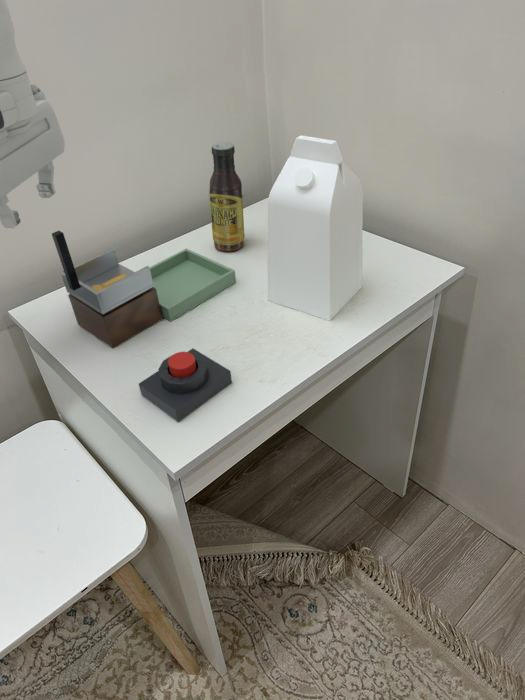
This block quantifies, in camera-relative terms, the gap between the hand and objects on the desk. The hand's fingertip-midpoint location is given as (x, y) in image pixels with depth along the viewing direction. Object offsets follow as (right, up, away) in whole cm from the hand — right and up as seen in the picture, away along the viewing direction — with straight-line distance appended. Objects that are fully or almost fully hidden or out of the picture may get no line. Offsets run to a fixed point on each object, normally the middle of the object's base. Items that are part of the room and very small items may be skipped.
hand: (31, 210), depth 74 cm
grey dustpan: (+7, -10, +12) cm, 17 cm away
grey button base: (+21, -24, +3) cm, 32 cm away
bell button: (+21, -22, +1) cm, 30 cm away
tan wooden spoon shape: (+7, -9, +12) cm, 17 cm away
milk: (+40, -9, +20) cm, 46 cm away
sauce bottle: (+25, +2, +35) cm, 43 cm away
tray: (+17, -8, +23) cm, 30 cm away
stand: (+8, -14, +16) cm, 23 cm away
